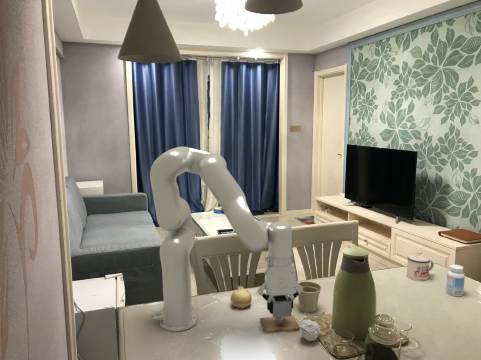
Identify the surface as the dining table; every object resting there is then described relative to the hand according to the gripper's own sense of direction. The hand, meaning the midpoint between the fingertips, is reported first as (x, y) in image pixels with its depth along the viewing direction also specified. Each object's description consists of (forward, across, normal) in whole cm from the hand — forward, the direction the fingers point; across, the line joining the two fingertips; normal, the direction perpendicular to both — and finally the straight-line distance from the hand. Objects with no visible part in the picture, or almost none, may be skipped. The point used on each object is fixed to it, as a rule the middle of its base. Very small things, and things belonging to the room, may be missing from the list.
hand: (280, 310), depth 133 cm
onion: (+6, -11, +16) cm, 20 cm away
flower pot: (+6, +13, +10) cm, 17 cm away
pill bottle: (+6, +74, +14) cm, 75 cm away
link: (+1, 0, 0) cm, 1 cm away
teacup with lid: (+6, +70, +31) cm, 77 cm away
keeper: (+5, 0, 0) cm, 5 cm away
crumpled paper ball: (+6, +7, -10) cm, 13 cm away
